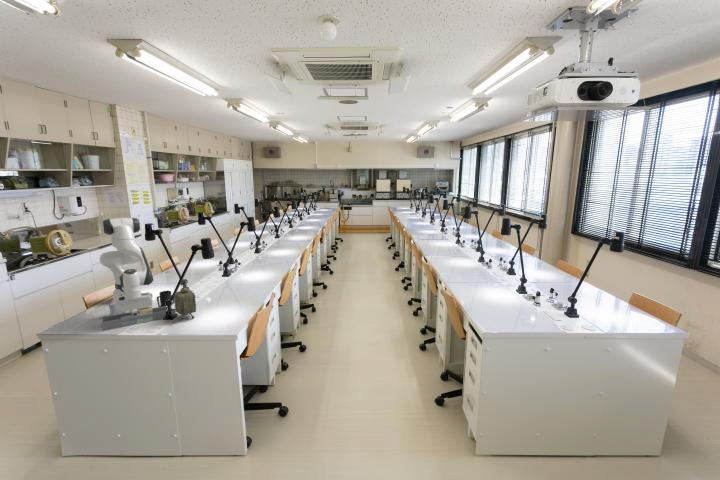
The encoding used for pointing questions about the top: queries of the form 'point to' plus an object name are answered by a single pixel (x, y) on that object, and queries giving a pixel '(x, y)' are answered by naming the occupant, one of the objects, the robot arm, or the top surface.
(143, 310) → the maple block
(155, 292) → the top surface
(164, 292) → the black mug
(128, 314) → the trap lane
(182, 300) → the olive backpack
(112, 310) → the medicine box
